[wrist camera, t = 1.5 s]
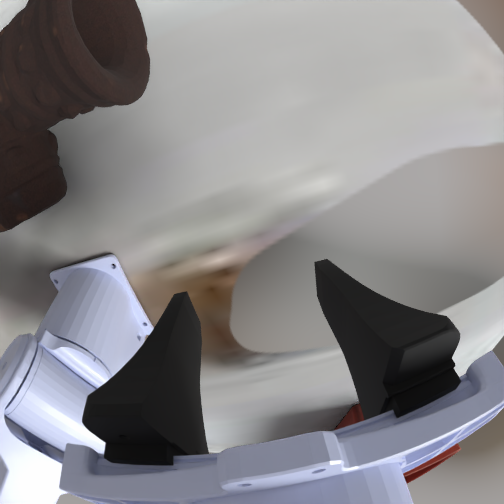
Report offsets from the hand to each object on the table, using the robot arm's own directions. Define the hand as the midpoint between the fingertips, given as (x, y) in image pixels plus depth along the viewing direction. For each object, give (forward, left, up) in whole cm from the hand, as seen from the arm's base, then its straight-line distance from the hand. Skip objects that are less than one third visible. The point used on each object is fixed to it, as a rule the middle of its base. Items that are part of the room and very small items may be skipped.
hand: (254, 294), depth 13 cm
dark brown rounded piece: (+13, +11, -11) cm, 20 cm away
